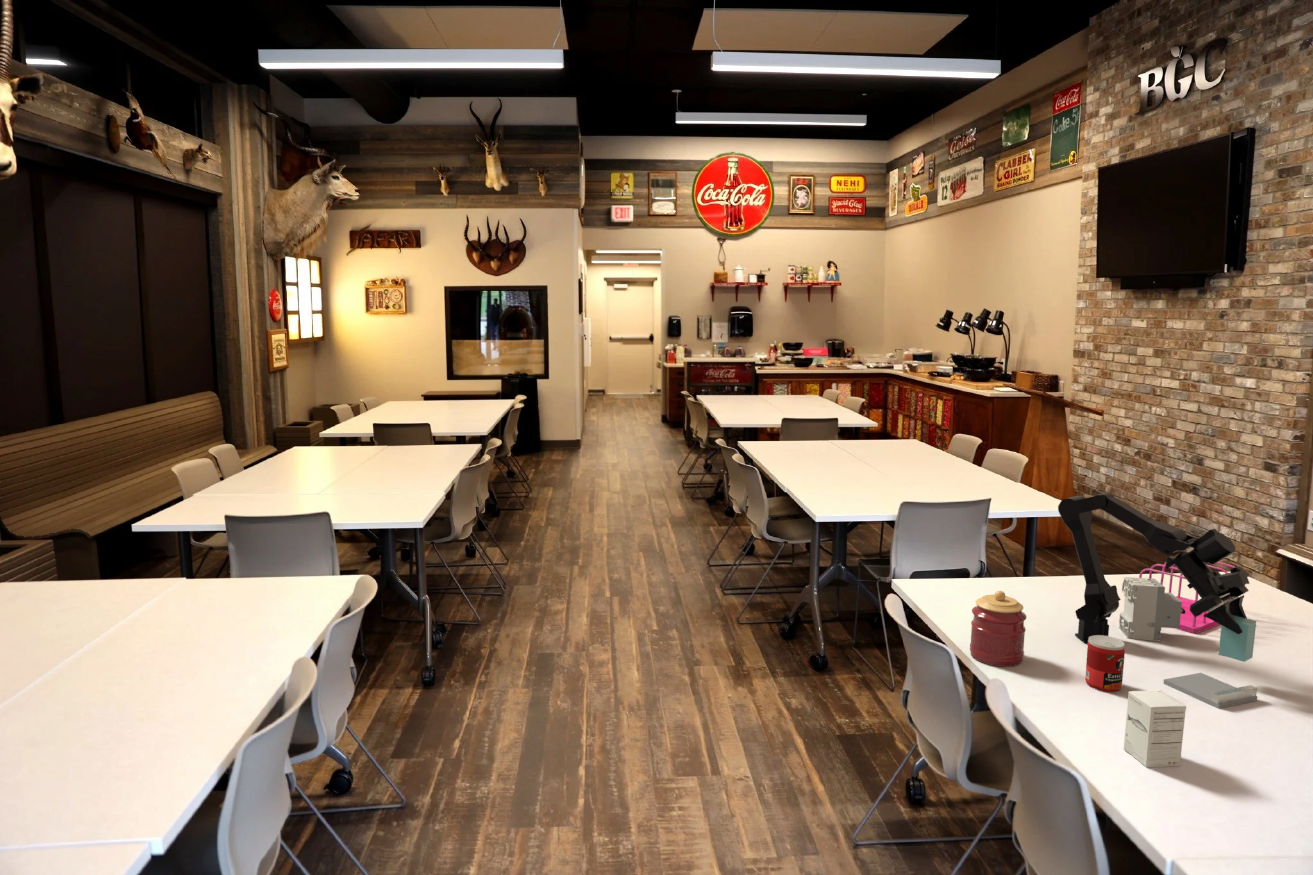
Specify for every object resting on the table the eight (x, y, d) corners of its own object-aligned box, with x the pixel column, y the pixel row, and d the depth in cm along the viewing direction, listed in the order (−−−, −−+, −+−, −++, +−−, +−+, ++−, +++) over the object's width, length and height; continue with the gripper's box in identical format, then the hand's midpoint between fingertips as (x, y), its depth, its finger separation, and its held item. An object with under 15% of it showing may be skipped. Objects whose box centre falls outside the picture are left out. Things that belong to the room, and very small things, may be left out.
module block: (1218, 654, 206) (1222, 618, 205) (1226, 650, 209) (1230, 614, 208) (1244, 661, 202) (1248, 625, 201) (1252, 657, 204) (1256, 621, 203)
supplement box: (1122, 749, 175) (1127, 690, 173) (1156, 747, 176) (1162, 688, 174) (1145, 768, 168) (1150, 706, 166) (1181, 766, 168) (1187, 705, 167)
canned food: (1108, 695, 200) (1111, 649, 198) (1077, 682, 207) (1080, 638, 205) (1129, 688, 203) (1133, 643, 202) (1098, 676, 210) (1101, 632, 209)
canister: (977, 644, 231) (980, 580, 228) (1028, 655, 223) (1033, 589, 221) (963, 659, 220) (966, 592, 218) (1016, 671, 213) (1021, 602, 210)
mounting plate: (1163, 683, 206) (1164, 671, 206) (1200, 676, 210) (1201, 664, 210) (1218, 708, 193) (1219, 695, 193) (1256, 700, 197) (1258, 688, 197)
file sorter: (1239, 617, 251) (1244, 565, 249) (1195, 634, 238) (1200, 579, 236) (1176, 601, 266) (1181, 551, 264) (1132, 616, 253) (1136, 564, 250)
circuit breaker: (1185, 642, 232) (1190, 588, 230) (1127, 638, 235) (1131, 585, 233) (1174, 632, 239) (1179, 580, 237) (1118, 628, 242) (1122, 576, 240)
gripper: (1209, 563, 200) (1258, 623, 192) (1243, 550, 211) (1291, 606, 203) (1169, 587, 207) (1216, 645, 200) (1204, 573, 218) (1249, 628, 211)
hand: (1244, 631), depth 203 cm, fingers closed on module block, 4 cm apart
